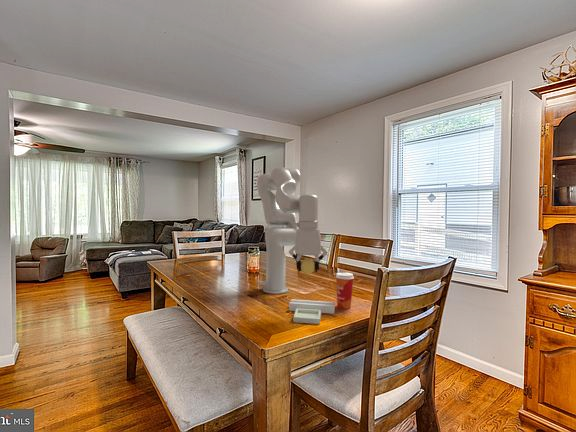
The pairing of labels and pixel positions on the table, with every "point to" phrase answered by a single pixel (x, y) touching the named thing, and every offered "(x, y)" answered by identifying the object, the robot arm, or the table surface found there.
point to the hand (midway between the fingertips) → (307, 270)
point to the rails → (312, 305)
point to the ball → (307, 266)
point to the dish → (307, 316)
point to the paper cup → (344, 290)
